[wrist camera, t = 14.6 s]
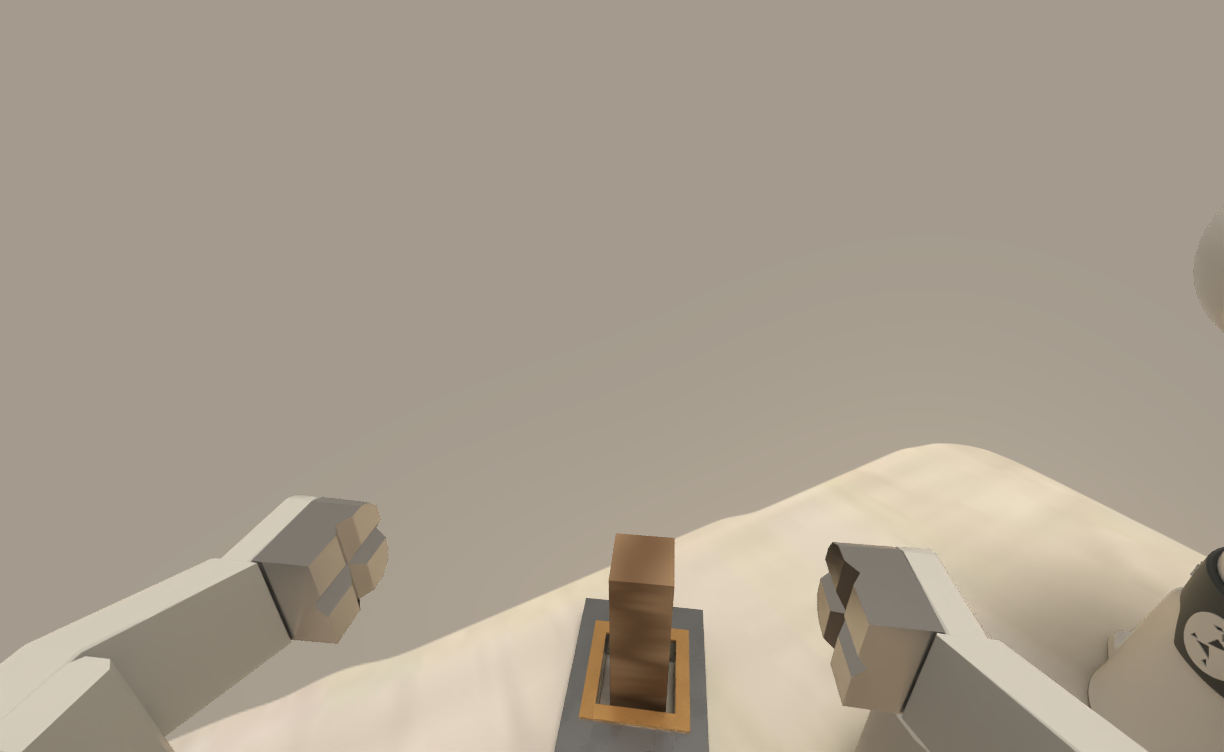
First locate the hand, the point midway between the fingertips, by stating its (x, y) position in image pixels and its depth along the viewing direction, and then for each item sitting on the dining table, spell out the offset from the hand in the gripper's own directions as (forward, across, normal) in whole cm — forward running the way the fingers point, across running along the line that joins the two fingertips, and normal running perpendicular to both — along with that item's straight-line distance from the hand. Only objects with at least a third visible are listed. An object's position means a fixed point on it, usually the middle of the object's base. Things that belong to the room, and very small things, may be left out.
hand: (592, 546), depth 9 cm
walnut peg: (+17, 0, +32) cm, 36 cm away
